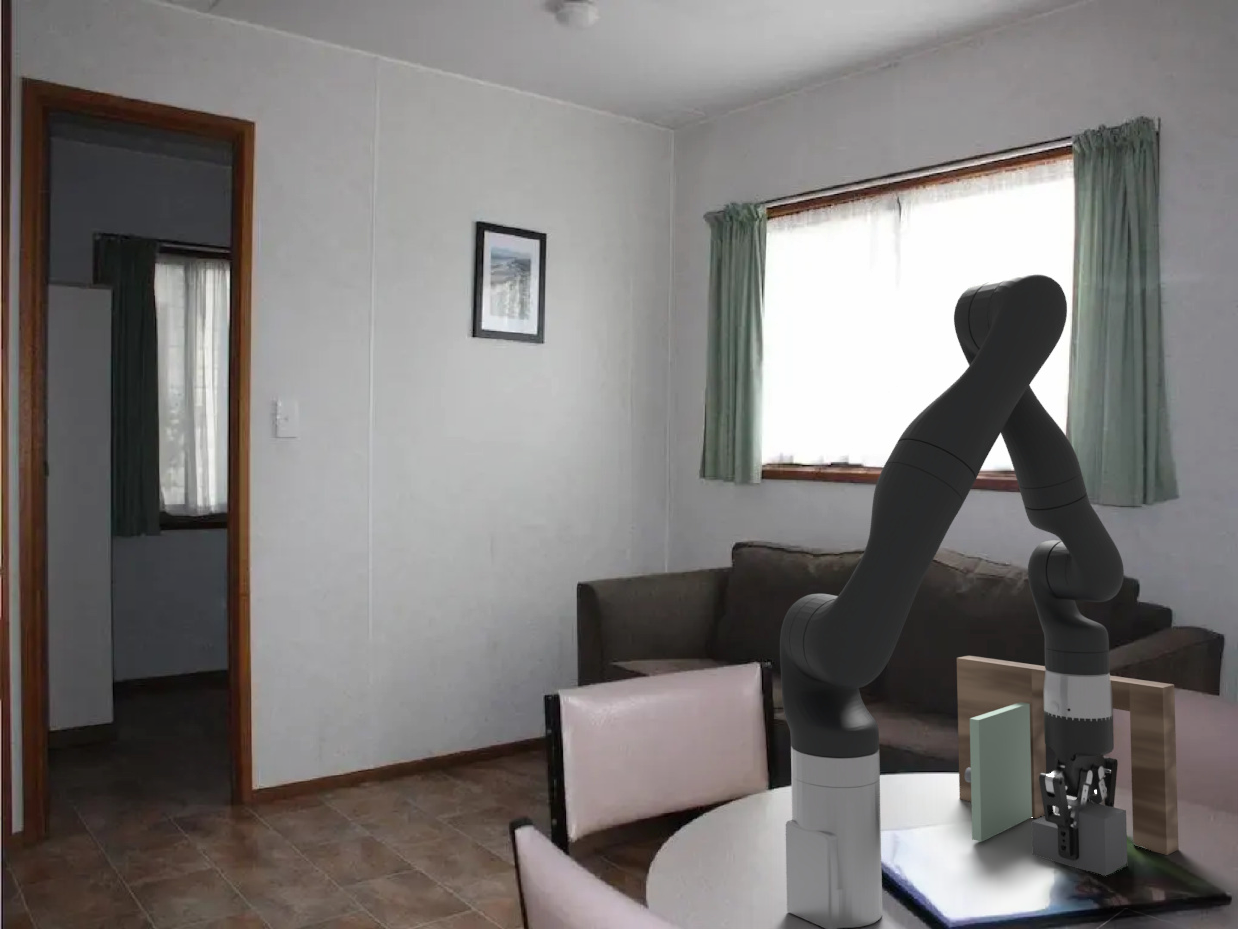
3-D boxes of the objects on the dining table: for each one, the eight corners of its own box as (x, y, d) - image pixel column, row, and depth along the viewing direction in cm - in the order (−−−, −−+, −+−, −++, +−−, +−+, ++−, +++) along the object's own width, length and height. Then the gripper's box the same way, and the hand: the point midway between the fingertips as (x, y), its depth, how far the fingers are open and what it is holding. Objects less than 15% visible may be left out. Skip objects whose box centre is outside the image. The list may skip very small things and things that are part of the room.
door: (963, 837, 127) (960, 717, 127) (1014, 813, 136) (1012, 700, 136) (981, 842, 125) (978, 720, 125) (1032, 817, 134) (1029, 703, 134)
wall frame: (1167, 855, 121) (1162, 687, 121) (959, 798, 144) (956, 657, 144) (1178, 849, 123) (1174, 684, 123) (971, 794, 146) (969, 655, 146)
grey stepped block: (1105, 877, 115) (1104, 819, 115) (1032, 854, 122) (1031, 800, 122) (1127, 866, 118) (1126, 810, 118) (1054, 845, 125) (1053, 792, 125)
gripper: (1076, 723, 113) (1080, 877, 112) (1139, 705, 121) (1142, 848, 121) (1015, 712, 119) (1018, 858, 118) (1078, 695, 127) (1082, 831, 127)
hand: (1081, 852), depth 120 cm, fingers closed on grey stepped block, 5 cm apart
